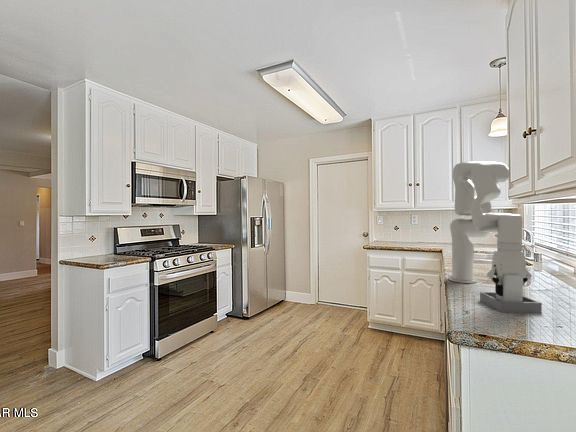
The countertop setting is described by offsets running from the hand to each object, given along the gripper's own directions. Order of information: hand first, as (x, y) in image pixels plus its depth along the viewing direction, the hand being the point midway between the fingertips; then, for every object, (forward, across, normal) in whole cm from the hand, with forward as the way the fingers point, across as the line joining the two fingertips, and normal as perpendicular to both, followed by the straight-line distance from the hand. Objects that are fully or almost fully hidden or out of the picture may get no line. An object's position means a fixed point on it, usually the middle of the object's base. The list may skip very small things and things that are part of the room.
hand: (508, 294), depth 116 cm
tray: (+4, 0, 0) cm, 4 cm away
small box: (+3, 0, 0) cm, 3 cm away
